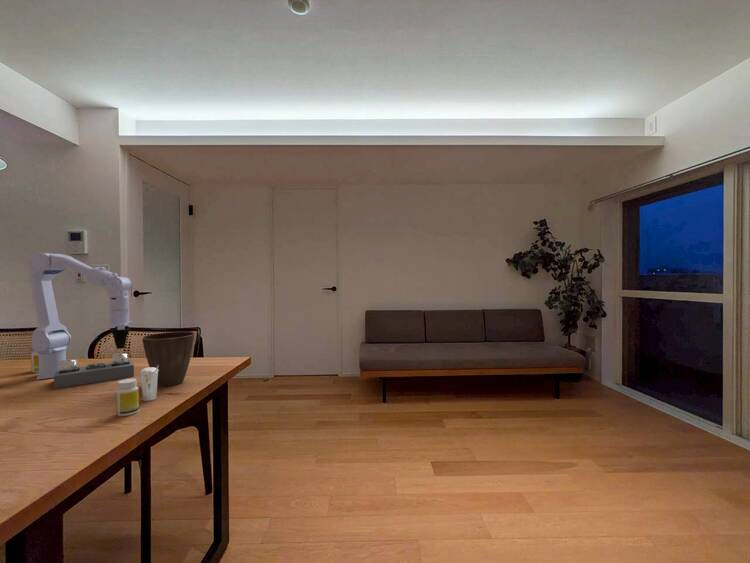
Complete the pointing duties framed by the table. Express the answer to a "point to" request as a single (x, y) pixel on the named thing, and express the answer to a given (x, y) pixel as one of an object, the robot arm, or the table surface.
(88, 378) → the control panel
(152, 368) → the milkshake
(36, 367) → the supplement bottle
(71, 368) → the knob
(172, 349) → the plant pot
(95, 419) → the table surface
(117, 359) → the knob
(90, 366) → the knob middle
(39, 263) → the robot arm
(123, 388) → the supplement bottle
